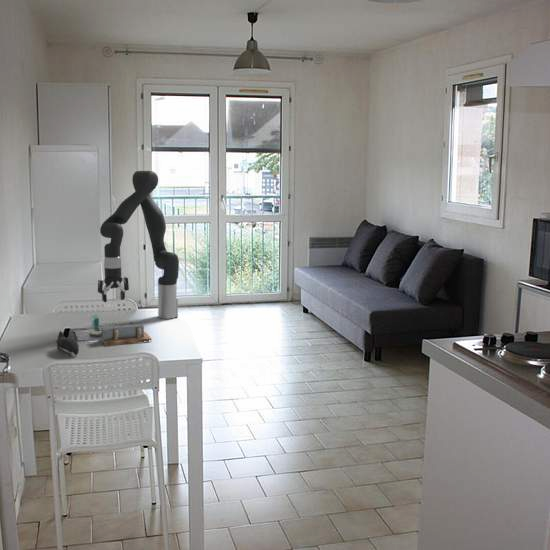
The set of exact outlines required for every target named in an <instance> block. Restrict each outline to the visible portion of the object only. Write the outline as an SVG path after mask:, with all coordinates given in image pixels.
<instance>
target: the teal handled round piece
mask: <svg viewBox="0 0 550 550" xmlns="http://www.w3.org/2000/svg"><path fill="white" fill-rule="evenodd" d="M99 320H100V317H98V315H97V314H92V315H91V324H92V325H91V328H89V329H90V330H89V334H90V335H94V336H100V335H101V327H100V321H99Z"/></svg>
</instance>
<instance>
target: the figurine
mask: <svg viewBox="0 0 550 550" xmlns="http://www.w3.org/2000/svg"><path fill="white" fill-rule="evenodd" d="M79 348H80V346H79V344H78V340H77V338H76V339H75V338H73V337H66V336H65V335H64V334H63V332H62V331H61V330H60V331H59V332H58V335H57V340H56V349H57V350H62V351H65V352H66V353H68V354H69V353H70V354H71V353H72V354H73V355H74V356H75V358H76V357H77V356H78V354H79V350H80V349H79Z"/></svg>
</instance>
